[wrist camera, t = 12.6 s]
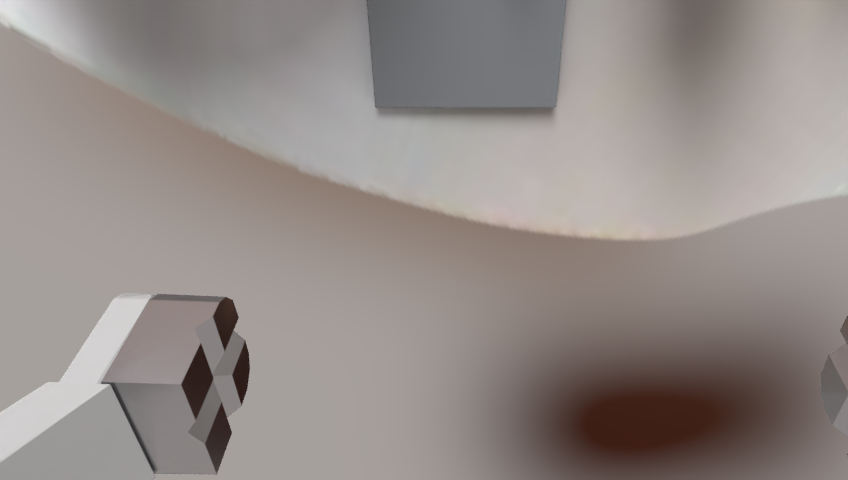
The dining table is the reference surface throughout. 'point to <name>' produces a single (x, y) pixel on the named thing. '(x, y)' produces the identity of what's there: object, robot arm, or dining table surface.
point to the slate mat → (465, 52)
